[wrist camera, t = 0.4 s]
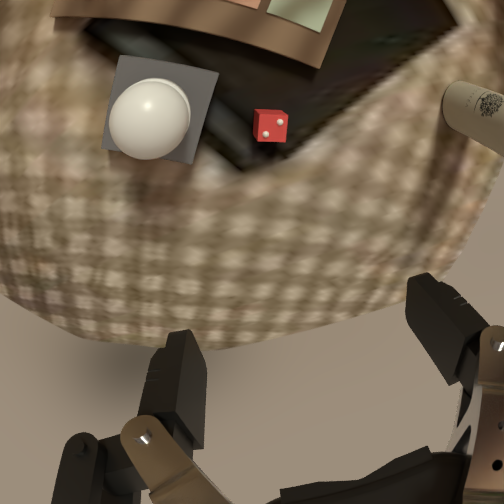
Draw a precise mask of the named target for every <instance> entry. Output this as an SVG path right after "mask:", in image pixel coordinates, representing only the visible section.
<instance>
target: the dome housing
mask: <svg viewBox="0 0 504 504" xmlns="http://www.w3.org/2000/svg"><path fill="white" fill-rule="evenodd" d="M218 75H219V73H218V72H214V71H210V70H206V69H202V68H197V67H193V66H188V65H183V64H178V63H173V62H167V61H162V60H156V59H150V58H143V57H136V56H128V55H120V57H119V61H118V65H117V69H116V73H115V77H114V81H113V86H112V90H111V95H110V100H109V105H108V110H107V116H106V121H105V127H104V133H103V140H102V147H101V149H107V150H114V151H120V152H122V151H121V150H120V149H119V148H118V147H117V146H116V144H115V143H114V141H113V139H112V137H111V133H110V129H109V117H110V113H111V110H112V107H113V105H114V103H115V101H116V100H117V99H118V97H119V96H120V95H121V94H122V93H123V92H124V91H125V90H126V89H127V88H128V87H130V86H131V85H133V84H135V83H137V82H139V81H142V80H145V79H148V78H163V79H167V80H170V81H172V82H174V83H176V84H177V85H178V86H180V87H181V88H182V89H183V91H184V92H185V93H186V95H187V97H188V99H189V102H190V107H191V116H190V123H189V127H188V130H187V132H186V134H185V136H184V138H183V139H182V141H181V142H180V143H179V145H178V146H177V147H176V148H175V149H173V150H172V151H171V152H169V153H168V154H166V155H164V156H162V157H159V158H161V159H166V160H171V161H177V162H182V163H187V164H192V163H193V159H194V155H195V152H196V148H197V144H198V141H199V137H200V134H201V130H202V127H203V123H204V120H205V117H206V113H207V110H208V107H209V103H210V100H211V97H212V94H213V91H214V87H215V84H216V81H217V78H218Z"/></svg>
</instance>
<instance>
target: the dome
mask: <svg viewBox="0 0 504 504" xmlns="http://www.w3.org/2000/svg"><path fill="white" fill-rule="evenodd" d="M190 116H191V107H190V102H189V99H188V97H187V95H186V93H185V92H184V91H183V89H182V88H181V87H180V86H178V85H177V84H176V83H174V82H172V81H170V80H167V79H163V78H148V79H145V80H142V81H139V82H137V83H135V84H133V85H131V86H130V87H128V88H127V89H126V90H125V91H124V92H123V93H122V94H121V95H120V96H119V97H118V99H117V100H116V101H115V103H114V105H113V107H112V110H111V113H110V117H109V129H110V133H111V137H112V139H113V141H114V143H115V144H116V146H117V147H118V148H119V149H120V150H121V151H122V152H124V153H125V154H127V155H129V156H131V157H133V158H137V159H143V160H149V159H156V158H159V157H162V156H164V155H166V154H168V153H169V152H171V151H172V150H173V149H175V148H176V147H177V146H178V145H179V143H180V142H181V141H182V139H183V138H184V136H185V134H186V132H187V130H188V127H189V123H190Z"/></svg>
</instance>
